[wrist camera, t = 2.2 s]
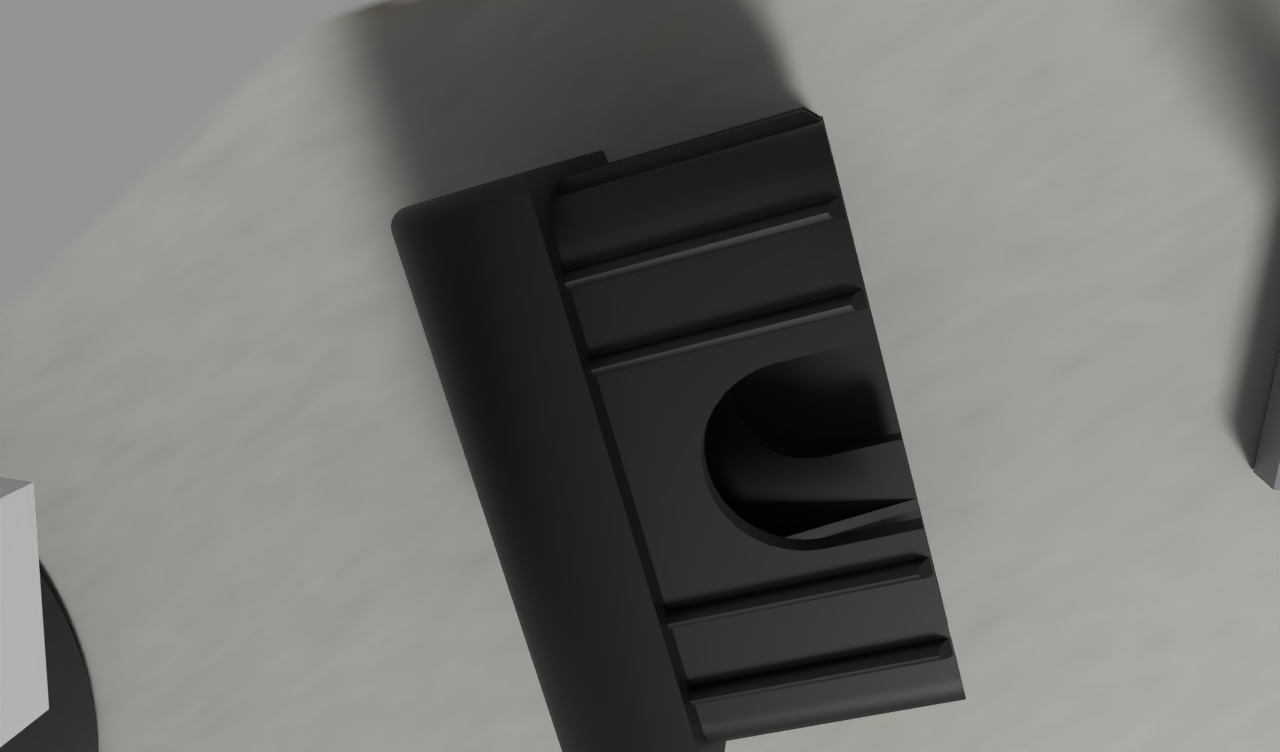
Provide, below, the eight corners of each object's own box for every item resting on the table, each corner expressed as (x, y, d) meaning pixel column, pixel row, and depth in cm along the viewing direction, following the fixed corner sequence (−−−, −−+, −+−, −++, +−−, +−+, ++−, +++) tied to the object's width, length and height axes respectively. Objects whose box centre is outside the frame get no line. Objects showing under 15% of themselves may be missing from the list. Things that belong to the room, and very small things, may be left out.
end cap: (464, 190, 23) (321, 231, 16) (815, 87, 21) (814, 87, 15) (606, 642, 25) (529, 840, 18) (936, 577, 23) (983, 768, 17)
